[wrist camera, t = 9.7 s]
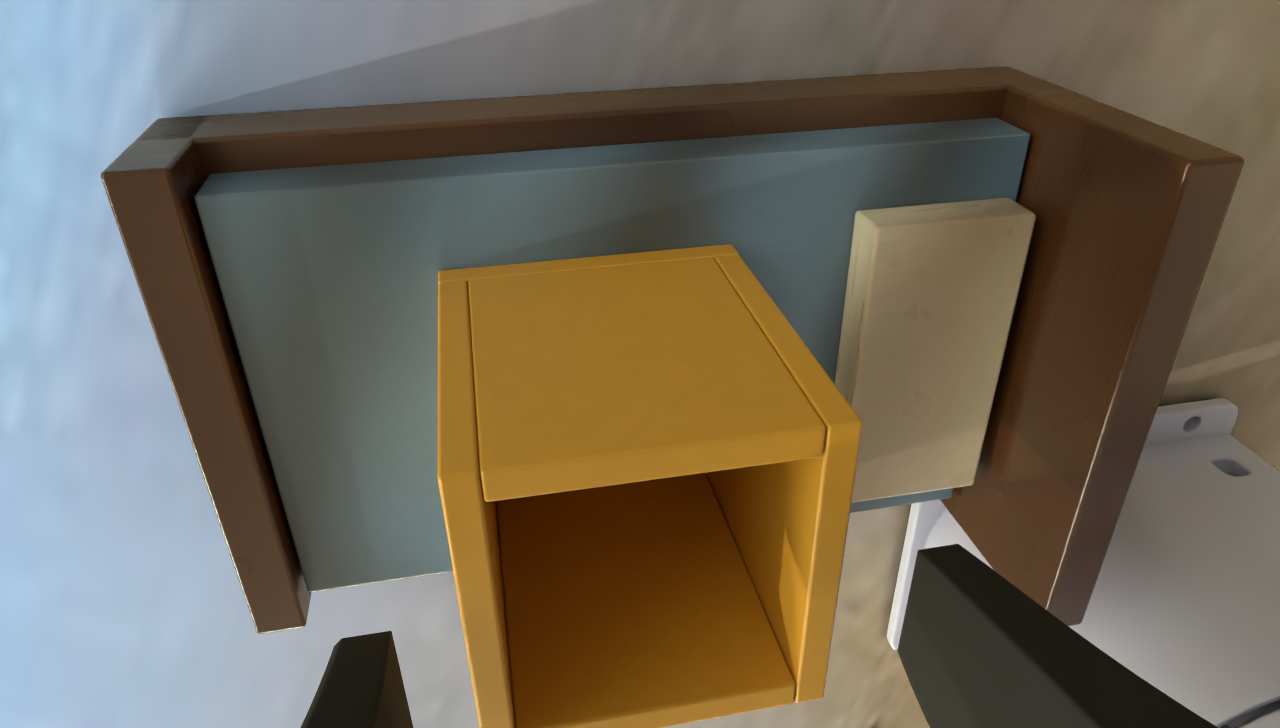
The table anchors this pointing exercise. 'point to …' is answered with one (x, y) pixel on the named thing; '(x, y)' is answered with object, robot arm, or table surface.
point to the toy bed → (674, 219)
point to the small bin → (638, 490)
